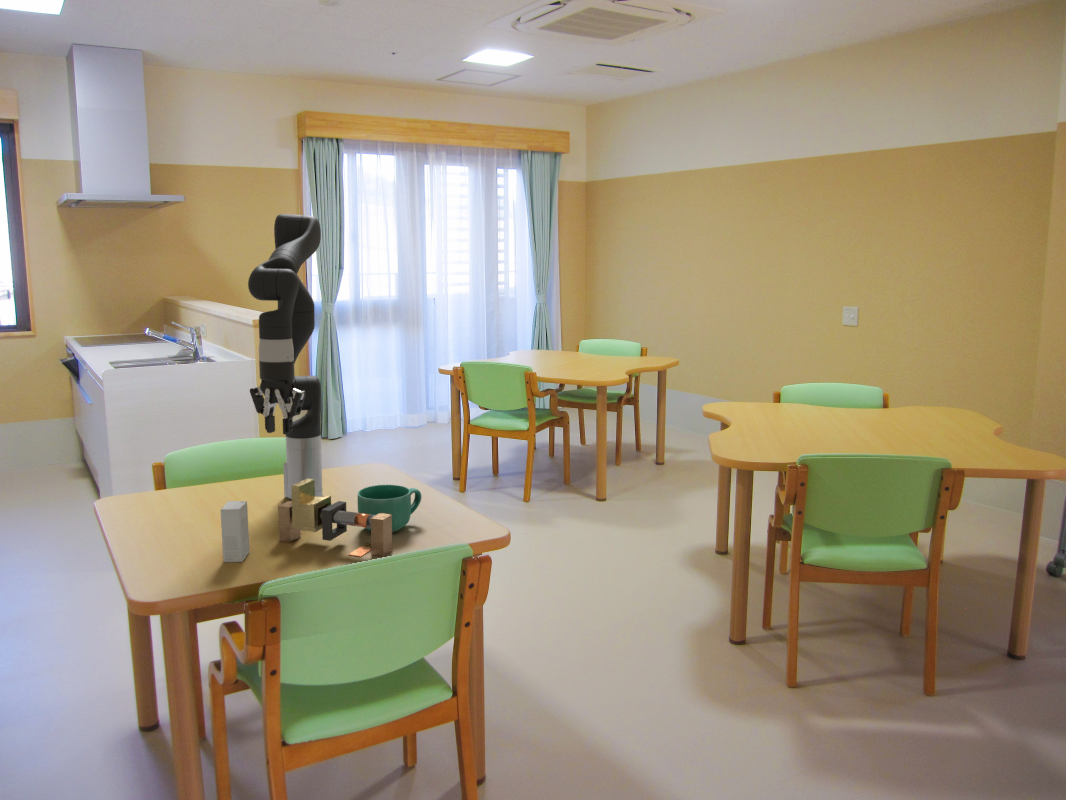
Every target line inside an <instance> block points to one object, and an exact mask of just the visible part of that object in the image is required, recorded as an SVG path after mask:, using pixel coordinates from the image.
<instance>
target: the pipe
mask: <svg viewBox="0 0 1066 800" xmlns="http://www.w3.org/2000/svg"><path fill="white" fill-rule="evenodd" d="M277 507H278V508H277V509H278V513H277V514H278V537H279V538H278V539H279V540H278V541H279V542H284V543H292V542H294V541H296V540H298V539H300V538H301V531H302V530H298V529H293V519H292V500H287V501H284V502H283V503H281V504H278V506H277ZM322 509H324V508H318V521H322ZM332 524H336V525H337V524H344V525H347V526H352V527H358V528H359V527H360V528H364V527H365V528H364V529H366V528H371V531H370V537H371V538H370V539H371V540H370V542H365V543H364V544H363V545H361V546H359V547H358V548H357V549H355V550H353V551H352V552H350V553H349V554H348V556H351V557H359V558H361V557H363V556H365V555H366V554H368V553H369V552H370V551H371V556H377V557H382V556H384V557H385V556H386V555H388V554H390V553H391V552H392V551H393V533H392V515H391V514H384V513H379V514H377V515H371V514H363V513H358V512H354V511H348V510H346V511H341V510H338V511H336V512H335V513H333V514H332ZM391 550H392V551H391ZM390 551H391V552H390Z"/></svg>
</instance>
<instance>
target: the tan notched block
mask: <svg viewBox="0 0 1066 800" xmlns="http://www.w3.org/2000/svg"><path fill="white" fill-rule="evenodd" d="M291 489H292V500H291V501H292V519H293V529H298V530H300V531H306V532H311V533H312V532H313V533H316V532H319V531H320V530H322V521H318V508H326V507H328V506H330V505H332V495H328V494H327V495H325V496H322V497H318V496H315V480H314V479H305V480H303V481H301V482H298V483H296V484H294V485H291Z"/></svg>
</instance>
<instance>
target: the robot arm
mask: <svg viewBox="0 0 1066 800" xmlns="http://www.w3.org/2000/svg"><path fill="white" fill-rule="evenodd" d="M273 232H274V233H273V235H274V236H273V237H274V248H275V249H274V250H273V252H272V253H271V254H270V257H269V258H268V260H266V261H264V262H262V263H260V264H259V265H258V266H256V267H255V268H254V269H253V270H252V271H251V273H250V275H249V277H248V282H247V286H248V287H247V288H248V292H249V293H250V294H251V296H252V297H253V298H254V299H256V300H258V301H273V302H275V301H276V302H277V309H274V310H270V311H269V310H267V311H264V312H262V313H260V314H259V316H258V334H259V335H258V336H259V337H258V338H259V339H258V341H259V342H258V343H259V344H258V366H259V367H258V368H259V379H260V380H261V381H260V383H259V386H256V387H252V388H250V389H249V393H250V396H251V399H252V402H253V405H254V408H255V411H256V412H257V414H261V415H263V417H264V428H265V430H266V433H268V434H272V433H275V432H276V418H275V417H276V416H275V415H274V414H275V409H276V406H277V405H278V407H279V409H280V410H281V414H282V434H283V435H285V449H286V450H285V453H286V455H285V456H286V458H285V459H286V461H284V463H283V467H282V468H283V492H284V498H287V499H289V500H290V501H292V489H291V485H294V484H296V483H298V482H301V481H303V480H305V479H314V480H315V496H318V497H323V465H322V464H323V460H322V456H323V455H322V428H321V427H322V426H321V425H322V422H321V420H322V416H321V415H322V414H321V413H322V412H321V409H322V408H321V407H322V383H321V381H320V379H319V378H318V376H315V375H295V364H296V361H297V359H298V357H299V355H300V354H301V352H302V350H303V349H304V347H305V345H306V344H307V342H308V341H309V340H310V338H311V336H312V334H313V332H314V330H315V326H316V325H315V324H316V323H315V322H316V321H315V319H316V318H315V315H316V314H315V302H314V299H313V298H312V295H311V294H310V292H309V291H308V289H307V288H306V286H305V285H304V283H303V282H302V280H301V278H300V277H299V275H298V273H299V270H300V268H301V267H302V265H303V264H304V263H305V262H306V261H307V260H308V259H309V258H310V257H312V255H313V254H314V253H316V251H317V250H318V248H319V247H320V243H321V238H322V237H321V236H322V233H321V232H322V230H321V224H320V221H319V219H317V217H315V216H312V215H308V214H289V213H287V214H285V213H280V214H278V215H276V217H275V219H274V226H273ZM302 411H306V414H304V415H303V416H302V417H300V418H298V419H297V420H293V418H294V417H296V416H299V415H301V412H302Z"/></svg>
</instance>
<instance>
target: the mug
mask: <svg viewBox="0 0 1066 800" xmlns="http://www.w3.org/2000/svg"><path fill="white" fill-rule="evenodd" d="M413 494H414V499H413V502H412V495H413ZM421 501H422V493H421V491H420V490H419V489H418V488H415V487H410V488H408V487H406V486H403V485H397V484H377V485H371V486H367V487H364V488H362V489H359V490H358V491H357V513H363V514H371V515H377V514H379V513H384V514H391V515H392V532H393V533H396V532H398V531H399V530H400V529H402V528H404V527H405V526H407V525H408V523H410V520H411V516H412V514H414V512H416V510H417V508H419V506H420V504H421ZM363 528H364V529H366V530H367V531H370V532H371V528H365V527H363ZM397 530H398V531H397ZM395 531H396V532H395Z"/></svg>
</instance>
